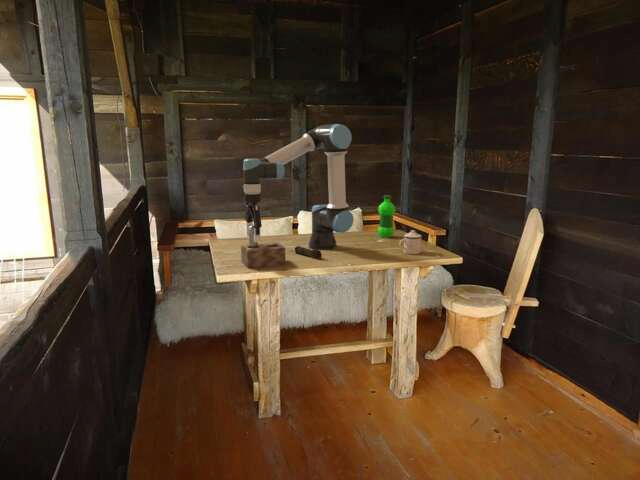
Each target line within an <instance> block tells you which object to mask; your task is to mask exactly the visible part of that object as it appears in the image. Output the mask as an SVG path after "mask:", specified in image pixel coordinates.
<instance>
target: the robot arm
mask: <svg viewBox="0 0 640 480" xmlns="http://www.w3.org/2000/svg"><path fill="white" fill-rule="evenodd" d="M352 139H353V137H352V133H351V131H350V129H349V128H348V127H347V126H346V125H344V124H339V123H334V124H333V123H331V124H322V125H319V126H317V127H315V128H313V129H311V130H309V131H308V132H305V133H304V134H303V135H302V137H301V138H299V139H296V140H295V141H293V142H291V143H289V144H287V145H286V146H283V147H282V148H279V149H278V150H276V151H274V152H273V153H270V154H268V155H266V156H265V157H263V158H261V159H260V158H245V159H243V164H242V171H243V186H242V188H243V192H244V195H243V201H244V203H245V205H246V206H245V207H246V208H245V216H244V217H245V218H244V220H245V222H246V237H248V238H249V226H251V225H254V226H253V228H254V242H258V243H260V242H261V228H262V226H263V224H262V219H261V211H260V205H259V204H258V203H261V201H262V195H261V192H262V191H261V190H262V189H261V187H262V186H261V180H278V179H279V180H280V179H283V177H285V174H286V173H285V172H286V171H285V170H286V169H285V165H286V164H288V163H289V162H291V161H294V159H297V158H299V157H301V156H302V155H305V154H306V153H308V152H313V151H316V150H319V149H323V153H324V154H325V155H326V156H327V183H328V184H327V185H328V188H327V189H328V204H316V205H313V206H312V207H311V234H310V237H309V240H308V247H309V248H310V249H312V250H313V249H317V250H331V249H336V248H337V240H336V237H335V234H334V232H335V233H340V234H344V233H346V232H349V230H350V229H351V228H352V226H353V224H354V215H353V214H352V212H351V211H350V206H349V204H348V203H347V201H346V199H347V198H346V197H347V196H346V167H345V166H346V164H345V160H346V159H345V155H346V154H347V153H348V147H349V146H350V144H351V143H352Z"/></svg>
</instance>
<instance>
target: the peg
mask: <svg viewBox="0 0 640 480" xmlns="http://www.w3.org/2000/svg"><path fill="white" fill-rule="evenodd" d="M253 226H254V224H253V225H251V226H249V236H248V245H249V248H258V244H259V242H254V228H253Z"/></svg>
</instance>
